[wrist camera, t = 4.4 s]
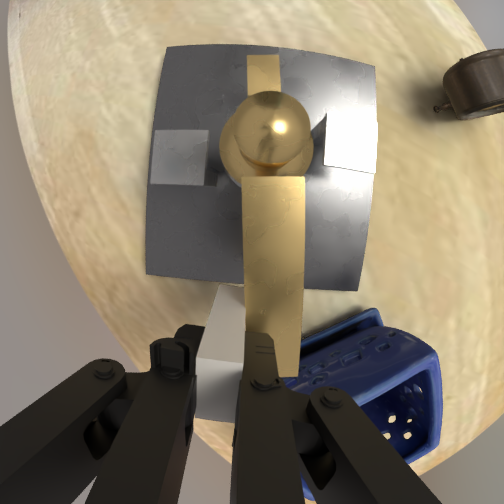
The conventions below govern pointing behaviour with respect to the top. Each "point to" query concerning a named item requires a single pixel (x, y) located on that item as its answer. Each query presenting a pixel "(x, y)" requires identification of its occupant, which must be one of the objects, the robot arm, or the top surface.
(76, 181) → the top surface
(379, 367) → the flower pot
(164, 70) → the socket
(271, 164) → the lever handle
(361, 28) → the top surface
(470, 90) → the alarm clock
